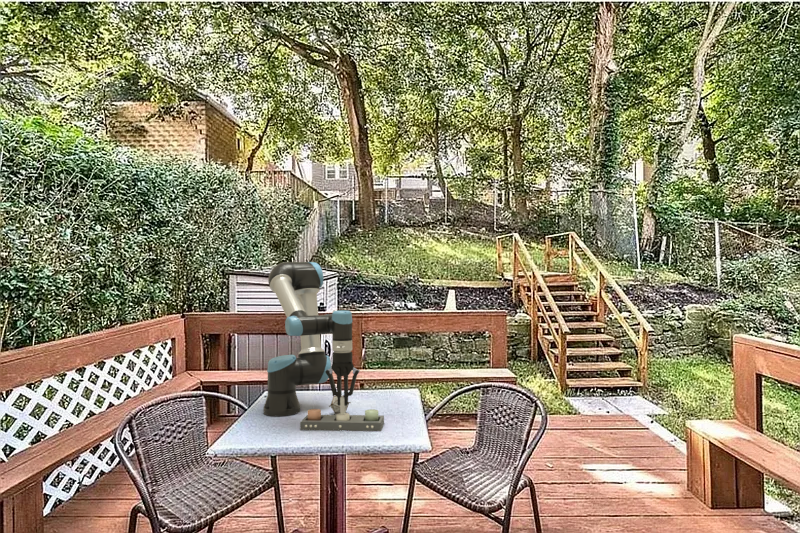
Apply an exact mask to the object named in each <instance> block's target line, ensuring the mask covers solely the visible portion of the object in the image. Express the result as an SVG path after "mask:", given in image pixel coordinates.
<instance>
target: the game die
mask: <svg viewBox="0 0 800 533" xmlns="http://www.w3.org/2000/svg"><path fill="white" fill-rule="evenodd" d="M341 396H344V394H342V395H341ZM332 397H333V398H332V400H331V403H330V405H328V407H329V408H331V409H332V411H333V412H334V414H333V415H336V414H339V413H340V406H338V398H337V396H335V395H333V394H332ZM351 403H352V402H351V401H348V405H347V406H345V408H346V411H347V410H348V407H349V405H350V404H351Z"/></svg>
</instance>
